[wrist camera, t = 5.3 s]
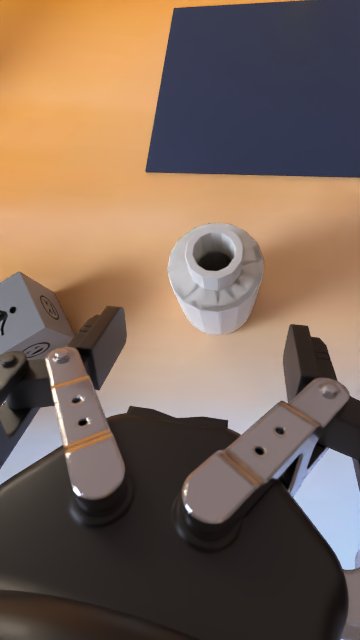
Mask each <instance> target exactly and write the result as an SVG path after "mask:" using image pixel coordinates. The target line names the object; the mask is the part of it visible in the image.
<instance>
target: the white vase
mask: <svg viewBox="0 0 360 640" xmlns="http://www.w3.org/2000/svg"><path fill="white" fill-rule="evenodd" d="M263 269H264V259H263V256H262V253H261V251H260V248H259V245H258V243H257V242H256V241H255V240H254V239H253V238H252V237H251V236H250V235H249V234H248V233H247V232H246V231H244V230H242V229H240V228H238V227H235V226H233V225H231V224H225V223H208V224H205V225H202V226H199V227H196V228H194V229H192V230H190V231H189V232H188V233H186V234H185V235H184V236H183V237H181V238H180V239H179V240H178V242H177V243H176V245H175V247H174V248H173V250H172V252H171V253H170V257H169V264H168V276H169V279H170V283H171V287H172V289H173V291H174V293H175V295H176V297H177V299H178V302H179V304H180V306H181V308H182V310H183V312H184V314H185V316H186V317H187V319H188V320H189V322H190V323H191V324H192V325H193V326H194V327H195V328H196V329H198V330H200V331H201V332H204V333H206V334H210V335H225V334H229V333H231V332H234V331H236V330H237V329H239V328H240V327H241V326H242V325H243V324H244V323H245V322H246V321H247V319H248V318H249V316H250V313H251V312H252V309H253V306H254V303H255V300H256V297H257V294H258V291H259V288H260V285H261V282H262V279H263Z"/></svg>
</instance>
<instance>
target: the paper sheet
mask: <svg viewBox="0 0 360 640" xmlns="http://www.w3.org/2000/svg"><path fill="white" fill-rule="evenodd" d="M146 172H159V173H199V174H239V175H279V176H319V177H360V0H306V1H289V2H271V3H254V4H237V5H220V6H202V7H185V8H174V11H173V17H172V22H171V28H170V34H169V39H168V45H167V51H166V57H165V62H164V68H163V74H162V79H161V85H160V91H159V97H158V102H157V108H156V114H155V119H154V125H153V131H152V137H151V142H150V148H149V154H148V159H147V165H146Z"/></svg>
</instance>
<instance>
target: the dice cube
mask: <svg viewBox="0 0 360 640" xmlns="http://www.w3.org/2000/svg"><path fill="white" fill-rule="evenodd" d="M74 337H75V335H74V332H73V330H72V328H71V326H70V324H69V322H68V320H67V318H66V316H65V314H64V312H63V310H62V308H61V306H60V304H59V302H58V300H57V298H56V296H55V294H54V292H52V291H51V290H49V289H47V288H46V287H44V286H42V285H41V284H39V283H37V282H36V281H34V280H32V279H31V278H29V277H28V276H26V275H24V274H23V273H21V272H17V273H16V274H14V275H12V276H11V277H9V278H7V279H6V280H4V281H2V282H1V283H0V355H1V354H4V353H6V352H11V351H21V352H23V353H25V354H26V356H27V359H28V360H37V359H45V358H46V356H47V355H48V354H49V353H50V352H51V351H53V350H55V349H57V348H60V347H65V346H67V345H68V344H69V343H70V342H71V340H72V339H73V338H74Z"/></svg>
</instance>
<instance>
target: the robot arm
mask: <svg viewBox="0 0 360 640" xmlns="http://www.w3.org/2000/svg"><path fill="white" fill-rule="evenodd" d="M126 337H127V333H126V323H125V314H124V309H123V308H122V307H114V306H107V307H106V308H105V310H104V311H103V312H102V313H101V315H95V316H93V317H92V318H90V319H88V321H87V322H86V323H85V324H84V326H83V327H82V328H81V329H80V331H79V332H78V333H77V334H76V335H75V337H74V338H73V339H72V340H71V342H70V343H69V344H68V345H67V347H60V348H57V349H55V350H53V351H51V352H50V353H49V354H48V355H47V356H46V359H37V360H28V359H27V356H26V354H25V353H23V352H21V351H11V352H6V353H4V354H1V355H0V406H1V405H2V403H3V402H4V401H5V400H6V402H5V403H4V404H3V406H2V407H1V408H0V469H1V467H2V466H3V464H4V462H5V461H6V459H7V458H8V456H9V455H10V453H11V452H12V450H13V449H14V447H15V446H16V444H17V442H18V441H19V439H20V438H21V436H22V435H23V433H24V432H25V430H26V429H27V427H28V426H29V424H30V422H31V421H32V419H33V418H34V416H35V415H36V413H37V412H38V410H39V409H40V407H47V406H55V410H56V415H57V419H58V424H59V428H60V433H61V437H62V442H63V445H62V446H60V447H59V448H57V449H56V450H54V451H53V452H51V453H49V454H48V455H46V456H45V457H43V458H41V459H40V460H38V461H37V462H35V463H33V464H32V465H30V466H29V467H27V468H25V469H24V470H22V471H21V472H19V473H18V474H16V475H14V476H13V477H11V478H10V479H8V480H7V481H5V482H4V483H2V484H1V485H0V640H340V639H344V640H360V549H359V550H358V552H357V554H356V557H355V569H353V570H344V569H342V567H341V564H340V562H339V560H338V558H337V556H336V554H335V553H334V551H333V550H332V548H331V547H330V545H329V544H328V543H327V541H326V540H325V539H324V537H323V536H322V535H321V533H320V532H319V531H318V530H317V528H316V527H315V526H314V524H313V523H312V522H311V520H310V519H309V518H308V517H307V515H306V514H305V513H304V511H303V510H302V509H301V507H300V506H299V505H298V503H297V502H296V501H295V500H294V498H293V497H294V495H295V494H296V492H297V491H298V489H299V488H300V486H301V484H302V482H303V480H304V479H305V477H306V476H307V475H308V473H309V472H310V471H311V470H312V469H313V467H314V466H315V465H316V464H317V462H318V461H319V460H320V459H321V458H322V456H323V455H324V454H325V453H326V452H327V450H328V449H329V448H331V449H333V450H335V451H338V452H340V453H343V454H345V455H347V456H350V457H352V459H353V463H354V468H355V472H356V477H357V481H358V486H359V490H360V401H359V400H357V399H355V398H353V397H351V396H350V394H349V391H348V390H347V388H346V387H345V386H344V385H342V384H341V383H340V382H338V381H337V378H336V375H335V372H334V368H333V365H332V362H331V361H330V356H329V354H328V350H327V347H326V345H325V344H324V343H323V342H322V341H321V339H320V338H316V337H311V336H310V332H309V328H308V326H304V325H294V324H291V325H290V327H289V331H288V335H287V340H286V344H285V349H284V355H283V367H284V375H285V383H286V391H287V399H288V403H285V402H284V401H280V402H278V403H277V404H276V405H275V406H274V407H273V408H272V409H270V410H269V411H268V412H267V413H266V414H265V415H264V416H262V417H261V418H260V419H259V420H258V421H257V422H256V423H255V424H253V425H252V426H251V427H250V428H249V429H248V430H247V431H245V432H244V433H243V434H242V435H240V434H239V433H237V432H235V431H233V430H231V429H228V428H227V427H228V420H222V419H215V418H208V417H190V418H174V417H172V416H169V415H167V414H164V413H161V412H159V411H156V410H154V409H147V408H141V407H134V406H130V407H129V409H128V411H127V413H124V414H118V415H114V416H111V417H108V418H105V415H104V413H103V410H102V407H101V405H100V402H99V399H98V397H97V394H96V392H95V390H100V388H101V386H102V385H103V383H104V381H105V379H106V377H107V376H108V374H109V372H110V370H111V369H112V367H113V365H114V363H115V361H116V360H117V358H118V356H119V354H120V352H121V351H122V349H123V347H124V345H125V343H126Z"/></svg>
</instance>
